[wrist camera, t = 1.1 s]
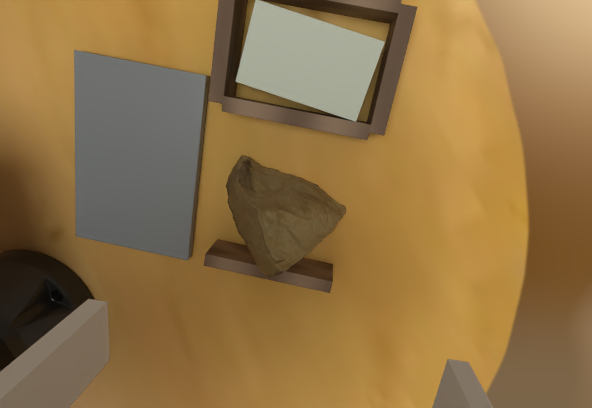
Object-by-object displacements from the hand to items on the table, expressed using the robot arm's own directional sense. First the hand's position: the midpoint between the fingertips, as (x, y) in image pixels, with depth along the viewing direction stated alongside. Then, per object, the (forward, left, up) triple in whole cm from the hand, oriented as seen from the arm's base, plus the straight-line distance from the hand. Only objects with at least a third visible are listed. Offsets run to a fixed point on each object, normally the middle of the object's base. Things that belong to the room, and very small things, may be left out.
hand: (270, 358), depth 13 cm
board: (-17, +1, -21) cm, 27 cm away
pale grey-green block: (-3, +12, -21) cm, 25 cm away
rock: (-2, +1, -21) cm, 21 cm away
